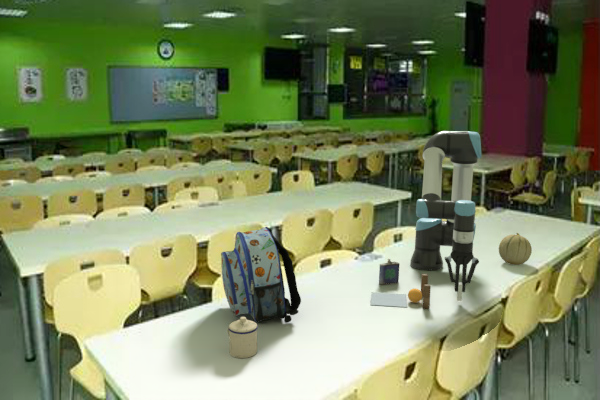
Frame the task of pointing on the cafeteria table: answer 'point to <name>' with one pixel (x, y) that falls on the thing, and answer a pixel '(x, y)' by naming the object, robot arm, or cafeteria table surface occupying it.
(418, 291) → the ball
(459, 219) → the robot arm
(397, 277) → the flask
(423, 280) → the post
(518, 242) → the cantaloupe
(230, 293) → the backpack
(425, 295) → the post
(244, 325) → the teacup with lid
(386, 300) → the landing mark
